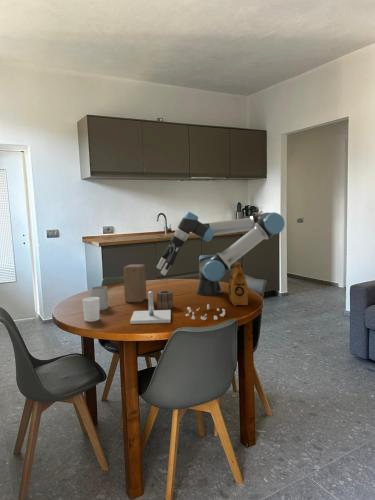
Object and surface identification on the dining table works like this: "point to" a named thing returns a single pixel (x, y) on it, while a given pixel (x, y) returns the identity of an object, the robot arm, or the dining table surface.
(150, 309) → the post
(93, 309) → the white cup
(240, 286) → the coffee package
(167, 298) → the walnut bead
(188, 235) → the robot arm
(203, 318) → the game piece set
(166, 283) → the dining table surface
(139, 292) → the wooden block
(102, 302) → the mug
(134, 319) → the white flat block
